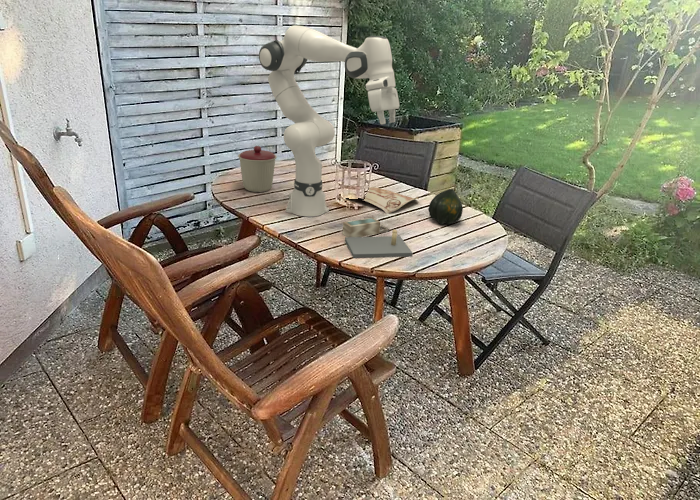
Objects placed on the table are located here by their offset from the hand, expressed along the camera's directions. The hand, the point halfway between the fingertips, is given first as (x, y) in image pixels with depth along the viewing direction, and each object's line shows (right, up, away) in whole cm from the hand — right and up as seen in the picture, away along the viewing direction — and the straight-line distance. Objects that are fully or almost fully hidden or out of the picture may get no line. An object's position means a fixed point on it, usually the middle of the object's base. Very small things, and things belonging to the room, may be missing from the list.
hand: (387, 123), depth 190 cm
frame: (-7, -39, +22) cm, 45 cm away
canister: (-58, -16, +66) cm, 90 cm away
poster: (+2, -23, +62) cm, 66 cm away
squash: (+27, -33, +40) cm, 59 cm away
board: (-3, -45, +8) cm, 46 cm away
